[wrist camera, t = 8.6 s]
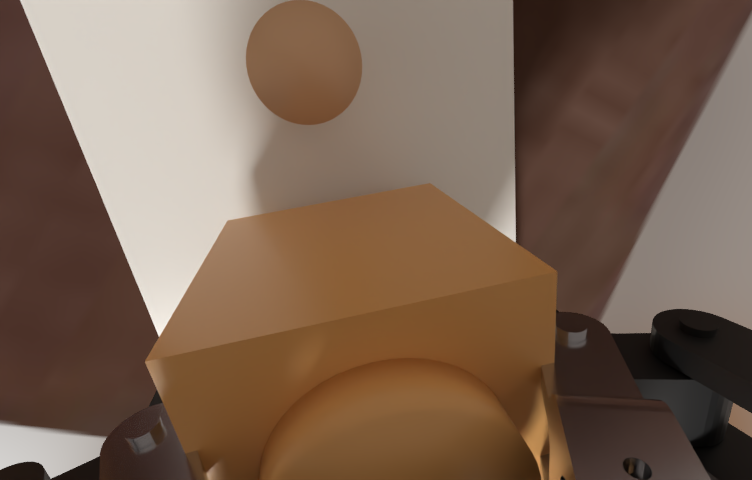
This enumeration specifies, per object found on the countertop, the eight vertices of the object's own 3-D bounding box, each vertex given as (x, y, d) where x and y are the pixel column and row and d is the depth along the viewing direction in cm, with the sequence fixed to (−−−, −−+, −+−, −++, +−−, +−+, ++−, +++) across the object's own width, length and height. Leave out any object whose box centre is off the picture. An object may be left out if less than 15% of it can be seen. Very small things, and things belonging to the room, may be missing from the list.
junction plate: (200, 383, 15) (149, 531, 10) (29, -60, 10) (-260, -223, 5) (498, 314, 16) (587, 415, 11) (485, -106, 11) (637, -271, 6)
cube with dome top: (276, 386, 13) (249, 696, 6) (227, 220, 11) (108, 422, 4) (445, 346, 13) (583, 589, 7) (430, 183, 11) (607, 306, 5)
